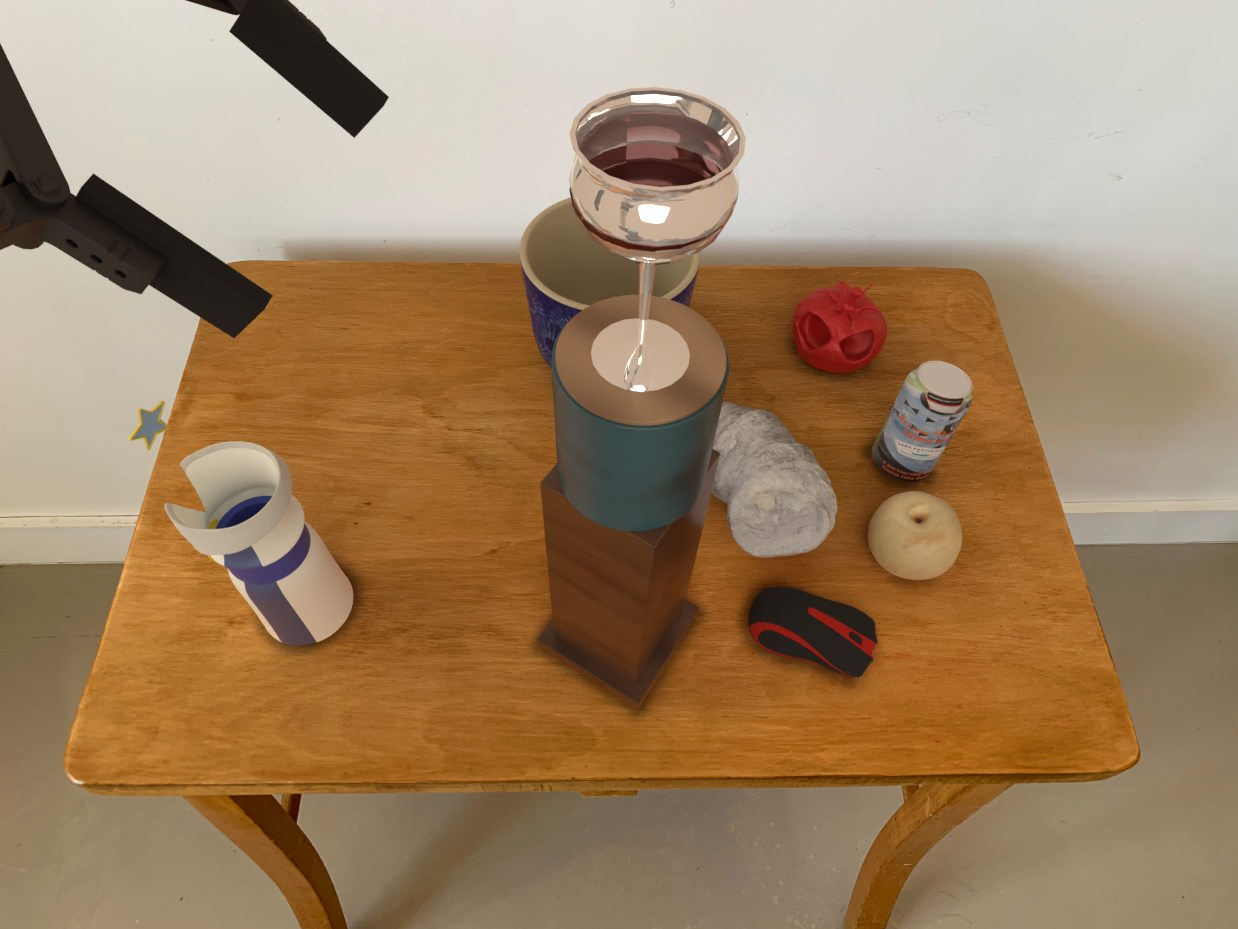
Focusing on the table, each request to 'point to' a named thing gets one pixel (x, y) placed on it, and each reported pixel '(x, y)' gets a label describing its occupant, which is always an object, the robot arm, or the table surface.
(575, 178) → the wineglass
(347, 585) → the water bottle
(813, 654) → the computer mouse
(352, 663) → the table surface
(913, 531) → the apple
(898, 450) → the beverage can
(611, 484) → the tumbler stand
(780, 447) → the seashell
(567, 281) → the planter
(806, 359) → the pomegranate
